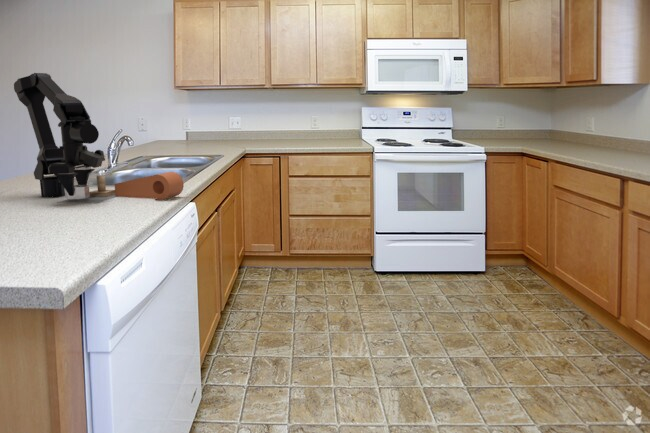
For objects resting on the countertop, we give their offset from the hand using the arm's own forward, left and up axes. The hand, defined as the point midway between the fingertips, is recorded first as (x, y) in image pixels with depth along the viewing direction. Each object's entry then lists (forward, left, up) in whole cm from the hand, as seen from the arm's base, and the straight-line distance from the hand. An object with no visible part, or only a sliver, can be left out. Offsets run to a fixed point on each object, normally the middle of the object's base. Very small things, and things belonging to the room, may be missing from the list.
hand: (77, 194), depth 174 cm
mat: (+2, +5, -3) cm, 6 cm away
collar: (0, 0, -1) cm, 1 cm away
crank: (+18, +10, -2) cm, 21 cm away
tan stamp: (+3, +10, -2) cm, 10 cm away
